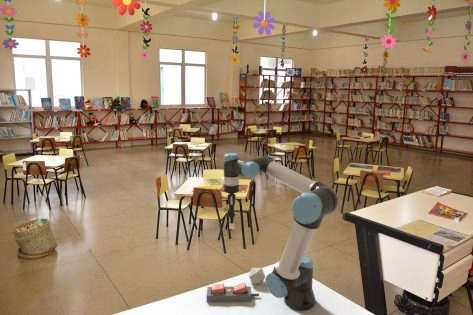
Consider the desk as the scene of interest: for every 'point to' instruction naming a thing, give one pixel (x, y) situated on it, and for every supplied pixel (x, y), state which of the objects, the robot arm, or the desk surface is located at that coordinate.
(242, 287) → the rocker
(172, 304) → the desk surface
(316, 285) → the desk surface
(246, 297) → the power strip
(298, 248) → the robot arm
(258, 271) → the die
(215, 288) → the rocker
